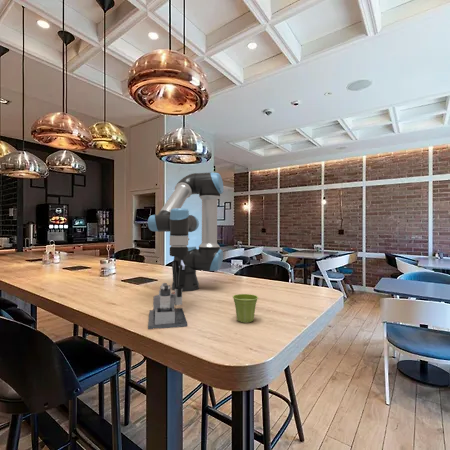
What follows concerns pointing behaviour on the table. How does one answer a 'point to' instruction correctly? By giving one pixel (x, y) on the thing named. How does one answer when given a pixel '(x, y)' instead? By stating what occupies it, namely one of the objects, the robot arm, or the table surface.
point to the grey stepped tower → (165, 298)
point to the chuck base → (167, 318)
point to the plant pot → (245, 307)
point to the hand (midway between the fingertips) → (178, 304)
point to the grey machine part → (157, 301)
